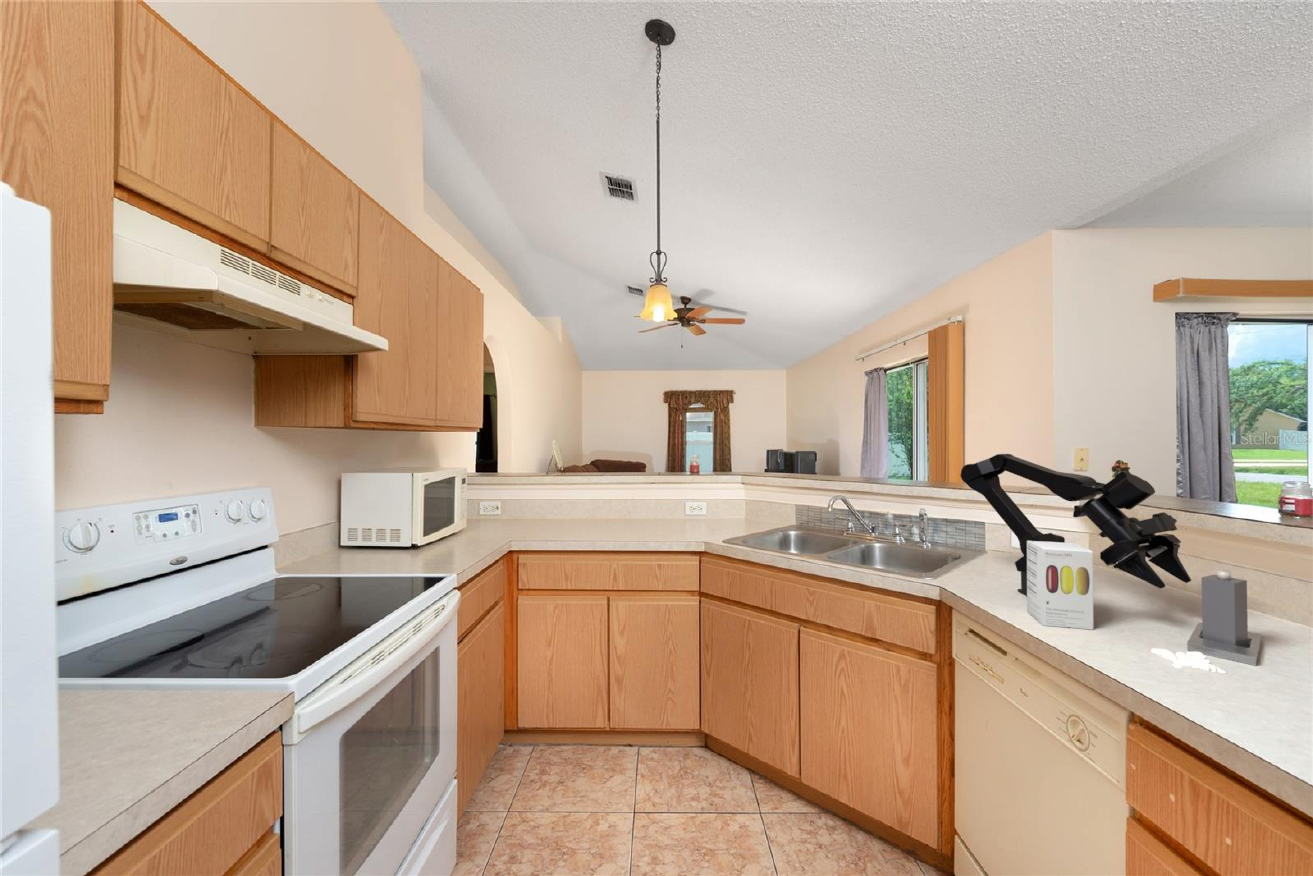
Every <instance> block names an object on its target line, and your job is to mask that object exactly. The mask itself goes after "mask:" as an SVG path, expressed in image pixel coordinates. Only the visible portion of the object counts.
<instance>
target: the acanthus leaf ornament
mask: <svg viewBox="0 0 1313 876" xmlns="http://www.w3.org/2000/svg"><path fill="white" fill-rule="evenodd" d="M1151 652H1152V653H1151ZM1150 653H1151V654H1154V653H1155V655H1157V656H1159V655H1161V656H1160V657H1161V658H1163V659H1165V660H1168V659H1169V660H1168V661H1170V660H1171V662H1172V661H1173V662H1172V664H1171V666H1172V667H1173V666H1174V668H1176V669H1180V668H1183V667H1184V668H1190V667H1192V669H1197V668H1200V669H1199V670H1201V669H1204V670H1203V671H1205V670H1207V671H1206V672H1212V673H1213V672H1214V673H1219V672H1220V674H1222V673H1227V672H1226V671H1225V670H1223V669H1222V668H1220V667H1218V666H1216V665H1214V664H1211V661H1210V660H1209V659H1207V655H1205V654H1202V653H1201V652H1192V651H1186V652H1182V651H1177V652H1175V653H1173V652H1172V651H1170V650H1168V649H1165V648H1151V649H1150ZM1184 668H1183V669H1184Z"/></svg>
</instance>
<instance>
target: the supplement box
mask: <svg viewBox="0 0 1313 876" xmlns="http://www.w3.org/2000/svg"><path fill="white" fill-rule="evenodd" d="M1026 611H1027V613H1028V614H1029V615H1031V616H1032V617H1033V618H1034V619H1035V620H1036V621H1037V622H1038V623H1040V624H1041V625H1042V626H1043V627H1044V626H1045V627H1046V626H1047V627H1058V628H1067V627H1071V628H1070V629H1079V630H1089V631H1090V630H1092V631H1094V628H1095V627H1094V551H1093V550H1091V549H1089V548H1086V547H1084V546H1082V545H1079V544H1077V543H1075V542H1065V543H1063V542H1043V541H1027V596H1026Z"/></svg>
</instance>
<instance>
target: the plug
mask: <svg viewBox="0 0 1313 876" xmlns="http://www.w3.org/2000/svg"><path fill="white" fill-rule="evenodd" d="M1231 573H1232V572H1231V571H1229V570H1225V569H1216V574H1212V575H1207V576H1202V577H1201V576H1200V577H1201V618H1202V619H1201V623H1202V636H1203V637H1202V639H1207V640H1212V641H1217V642H1222V643H1226V644H1231V645H1236V646H1241V647H1246V648H1249V646H1248V632H1249V630H1248V628H1249V627H1248V581H1247V580H1246V579H1241V578H1234V577H1232V574H1231Z"/></svg>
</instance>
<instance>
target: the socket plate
mask: <svg viewBox="0 0 1313 876" xmlns="http://www.w3.org/2000/svg"><path fill="white" fill-rule="evenodd" d="M1201 637H1202V621H1201V622H1200V621H1198V622H1197V624H1196V626H1195V628H1194V630H1193V631H1192V632H1191V635H1190V636H1189V639H1188V640H1187V642H1186V645H1187V646H1186V650H1190V651H1189V652H1192V651H1194V652H1201V653H1202V654H1203V655H1204V656H1209V655H1211V656H1210V657H1214V658H1215V657H1216V658H1219V659H1224V660H1227V659H1231V660H1230V661H1232V660H1234V661H1233V662H1236V661H1239V662H1238V663H1241V662H1242V664H1245V665H1250V664H1251V666H1254V665H1255V667H1256V666H1257V662H1258V658H1259V654H1260V649H1261V644H1262V634H1261V633H1258V632H1252V631H1248V648H1246V647H1241V646H1236V645H1231V644H1226V643H1222V642H1217V641H1212V640H1207V639H1203V637H1202V638H1201Z"/></svg>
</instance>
